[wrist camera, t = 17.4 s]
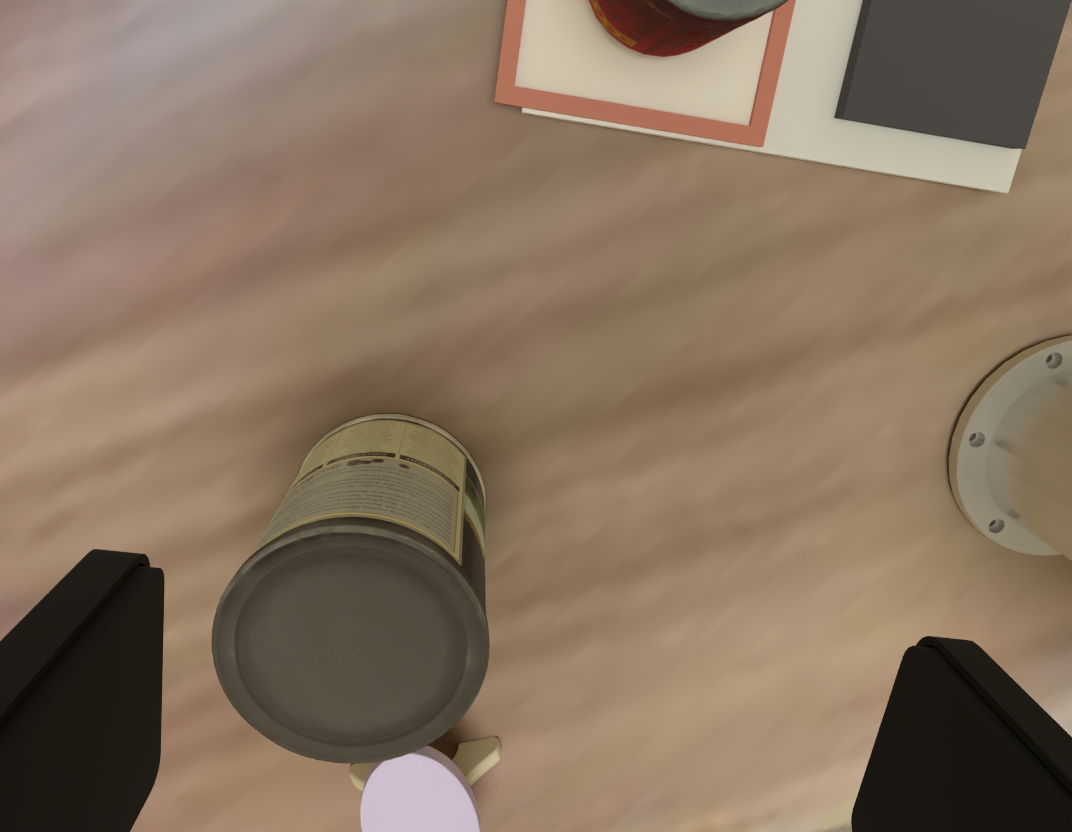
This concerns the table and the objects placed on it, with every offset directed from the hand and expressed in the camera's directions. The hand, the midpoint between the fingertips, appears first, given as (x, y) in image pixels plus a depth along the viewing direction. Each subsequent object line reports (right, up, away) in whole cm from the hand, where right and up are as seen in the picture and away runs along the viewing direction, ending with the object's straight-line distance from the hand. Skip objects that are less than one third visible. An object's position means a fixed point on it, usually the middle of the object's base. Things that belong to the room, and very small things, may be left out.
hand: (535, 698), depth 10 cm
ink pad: (+19, +21, +27) cm, 39 cm away
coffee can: (-8, -1, +34) cm, 35 cm away
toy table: (-7, -17, +39) cm, 43 cm away
